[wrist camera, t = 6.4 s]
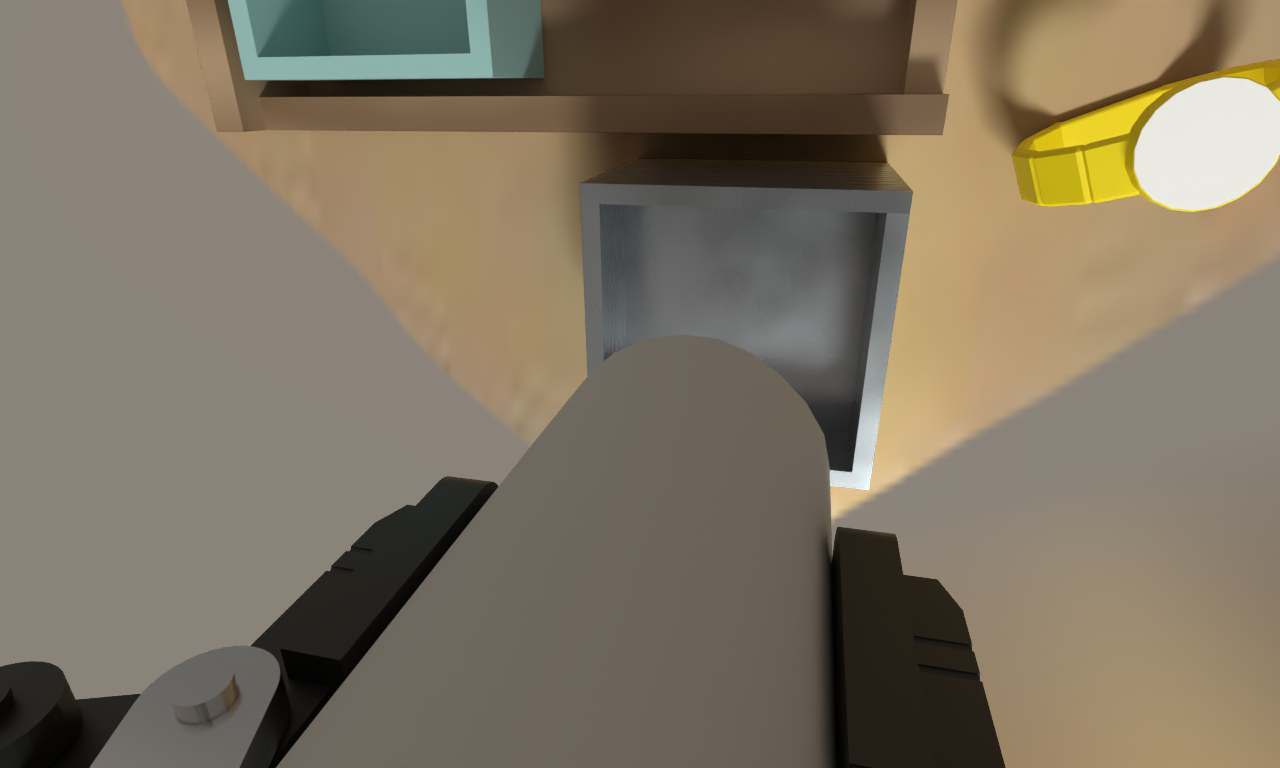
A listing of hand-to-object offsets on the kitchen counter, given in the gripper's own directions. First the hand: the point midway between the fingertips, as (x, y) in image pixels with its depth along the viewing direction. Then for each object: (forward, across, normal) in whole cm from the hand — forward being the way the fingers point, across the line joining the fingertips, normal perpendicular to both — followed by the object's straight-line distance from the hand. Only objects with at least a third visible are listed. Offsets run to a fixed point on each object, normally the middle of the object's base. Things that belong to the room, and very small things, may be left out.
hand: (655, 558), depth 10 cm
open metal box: (+16, 0, 0) cm, 16 cm away
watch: (+16, -10, -5) cm, 20 cm away
